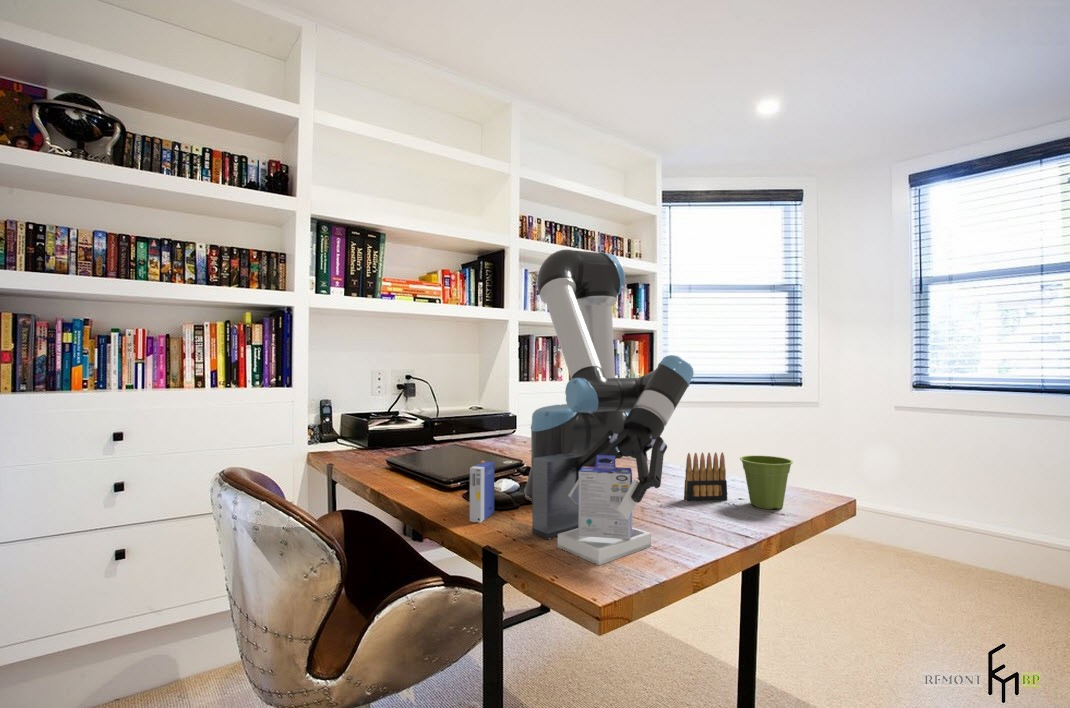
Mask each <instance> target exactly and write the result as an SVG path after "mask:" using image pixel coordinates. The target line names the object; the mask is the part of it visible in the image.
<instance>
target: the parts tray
mask: <svg viewBox="0 0 1070 708" xmlns="http://www.w3.org/2000/svg"><path fill="white" fill-rule="evenodd" d="M651 547H652V532H649V531H646V530H643V529H639V528H636V527H633V526H632V534H631V539H616V538H603V537H588V536H578V528H577V529H574V530H570V531H567V532H563V533H560V534H558V537H557V548H558V549H560V550H562V549H563V551H564V550H565V552H567V551H568V552H567V553H569V552H570V554H571V553H572V555H574V556H576V557H578V556H579V558H581V559H582V560H585V561H588V562H590V563H593V564H594V563H595V565H597V566H601V565H603V564H606V563H609V562H612V561H615V560H618V559H621V558H623V557H626V556H628V555H632V554H634V553H637V552H639V551H642V550H646V549H648V548H651Z"/></svg>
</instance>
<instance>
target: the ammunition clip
mask: <svg viewBox="0 0 1070 708" xmlns="http://www.w3.org/2000/svg"><path fill="white" fill-rule="evenodd" d="M725 459H726V458H725V454H724V452H721V454H720V456H719V458H718V453H717V452H714V454H713V458H712V456H711V453H710V452H708V453H707V456H706V458H705V454H704V452H701V454H700V458H699V456H698V454H697V452H695V453H694V455H693V461H692V456H691V453H690V452H688V454H687V455H686V463H685V466H686V467H685V479H684V491H683V492H684V493H683V500H684V501H686V502H688V503H689V502H718V501H728V486H727V478H726V477H727V473H726V472H727V471H726V460H725ZM712 461H713V462H712Z"/></svg>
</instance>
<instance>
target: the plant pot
mask: <svg viewBox="0 0 1070 708" xmlns="http://www.w3.org/2000/svg"><path fill="white" fill-rule="evenodd" d="M739 460H740V461H741V463H742V468H743V471H744V474H745V480H746V486H747V493H748V497H749V502H750V505H751V506H754V507H756V508H758V509H765V510H773V509H777V510H780V509H782V508H784V503H785V496H786V491H787V490H786V489H787V483H788V477H789V473H790V469H791V465H793V463H794V460H792V459H789V458H786V457H780V456H771V455H742V456H740V457H739Z"/></svg>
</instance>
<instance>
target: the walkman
mask: <svg viewBox="0 0 1070 708" xmlns="http://www.w3.org/2000/svg"><path fill="white" fill-rule="evenodd" d="M491 514H492V515H493V514H495V461H486V460H481V461H480V462H479V463H478V464H475V465H473V466H471V467H470V468H469V522H470V521H471V522H470V523H475V522H478V524H481V523H483V522H484V521H485V520H487V519H488V518H489V517H490V516H492V515H491ZM486 518H487V519H486ZM483 520H484V521H483ZM482 521H483V522H482Z"/></svg>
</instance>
